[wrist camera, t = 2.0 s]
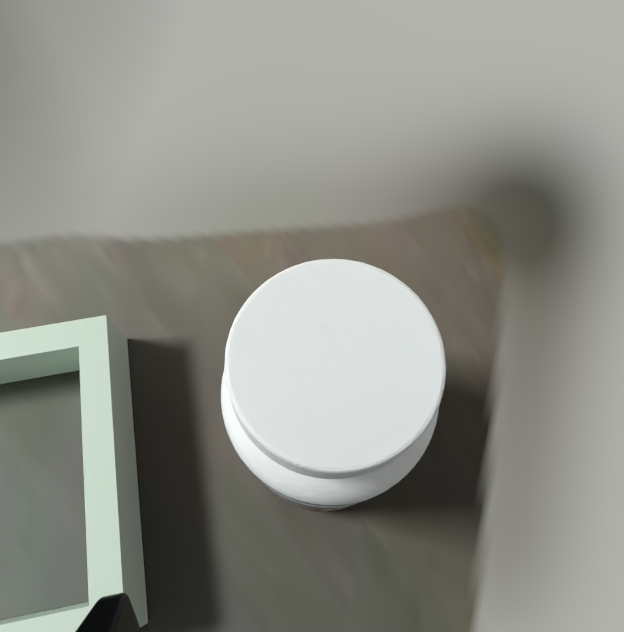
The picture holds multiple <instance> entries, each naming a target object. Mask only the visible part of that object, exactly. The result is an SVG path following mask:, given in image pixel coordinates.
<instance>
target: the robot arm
mask: <svg viewBox="0 0 624 632" xmlns="http://www.w3.org/2000/svg"><path fill="white" fill-rule="evenodd" d="M75 632H140V626H139V623H138V620H137V617H136V615H135V612H134V609H133V607H132V604H131V601H130V598H129V596H128V595H127V594H126V593H118V594H113V595H108V596H104V597H101V598H100V599H99V600H98V601H97V602H96V603H95V605H94V606H93V608H92V609H91V610H90V612H89V613H88V615H87V616H86V617H85V619H84V620H83V622H82V623H81V624H80V626H79V627H78V629H77V630H76V631H75Z"/></svg>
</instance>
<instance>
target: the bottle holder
mask: <svg viewBox="0 0 624 632" xmlns="http://www.w3.org/2000/svg"><path fill="white" fill-rule="evenodd" d="M78 370H80V390H81V415H82V440H83V465H84V490H85V515H86V540H87V565H88V590H89V602H86V603H82V604H77V605H72V606H67V607H63V608H58V609H53V610H48V611H44V612H39V613H34V614H29V615H25V616H20V617H15V618H10V619H6V620H1V621H0V632H75V631H76V630H77V629H78V627H79V626H80V624H81V623H82V622H83V620H84V619H85V617H86V616H87V615H88V613H89V612H90V610H91V609H92V608H93V606H94V605H95V603H96V602H97V601H98V600H99V599H100V598H101V597H104V596H108V595H113V594H118V593H126V594H127V595H128V596H129V598H130V601H131V604H132V607H133V609H134V612H135V615H136V617H137V620H138V623H139V626H140V628H141V627H142V626H144V625H145V624H147V623H148V614H147V600H146V587H145V573H144V560H143V546H142V533H141V519H140V506H139V492H138V478H137V465H136V451H135V438H134V424H133V411H132V397H131V384H130V370H129V357H128V343H127V337H126V336H125V335H124V334H123V333H122V332H121V331H120V330H119V329H118V327H117V326H116V325H115V324H114V323H113V322H112V321H111V320H110V319H109V318H108V317H107V315H104V316H98V317H92V318H86V319H80V320H74V321H68V322H62V323H56V324H50V325H44V326H38V327H32V328H26V329H20V330H14V331H8V332H2V333H0V384H4V383H10V382H15V381H21V380H27V379H33V378H38V377H44V376H50V375H55V374H61V373H67V372H73V371H78Z"/></svg>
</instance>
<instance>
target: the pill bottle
mask: <svg viewBox="0 0 624 632" xmlns="http://www.w3.org/2000/svg"><path fill="white" fill-rule="evenodd" d="M445 379H446V359H445V351H444V346H443V342H442V338H441V335H440V332H439V330H438V327H437V325H436V323H435V320H434V319H433V317H432V315H431V314H430V312H429V310H428V309H427V307H426V306H425V305H424V303H423V302H422V301H421V300H420V298H419V297H418V296H417V295H416V294H415V293H414V292H413V291H412V290H411V289H410V288H409V287H408V286H406V285H405V284H404V283H403V282H401V281H400V280H398V279H397V278H396V277H394V276H392V275H391V274H389V273H387V272H385V271H383V270H381V269H380V268H376V267H374V266H371V265H368V264H365V263H362V262H357V261H351V260H344V259H325V260H315V261H309V262H305V263H302V264H299V265H295V266H293V267H291V268H288V269H286V270H284V271H282V272H280V273H278V274H276V275H275V276H273V277H272V278H270V279H269V280H267V281H266V282H265V283H263V284H262V285H261V286H260V287H259V288H258V289H257V290H256V291H255V292H254V293H253V294H252V295H251V296H250V297H249V298H248V299H247V301H246V302H245V303H244V305H243V306H242V308H241V309H240V311H239V313H238V314H237V316H236V318H235V320H234V322H233V325H232V327H231V330H230V333H229V337H228V340H227V344H226V350H225V369H224V373H223V377H222V385H221V405H222V413H223V418H224V422H225V426H226V429H227V432H228V435H229V437H230V440H231V442H232V444H233V446H234V448H235V450H236V452H237V453H238V455H239V456H240V458H241V460H242V461H243V462H244V464H245V465H246V467H247V468H248V469H249V470H250V471H251V472H252V473H253V474H254V475H255V476H256V477H257V478H258V479H259V480H260V481H261V482H262V483H263V484H264V485H265V486H266V487H267V488H268V489H269V490H270V491H271V492H272V493H273V494H275V495H276V496H277V497H279V498H281V499H282V500H284V501H286V502H287V503H290V504H292V505H294V506H296V507H300V508H303V509H307V510H311V511H334V510H339V509H343V508H346V507H349V506H352V505H355V504H357V503H360V502H363V501H366V500H368V499H371V498H373V497H375V496H377V495H380V494H382V493H383V492H385V491H387V490H389V489H390V488H391V487H393V486H394V485H396V484H397V483H398V482H399V481H401V480H402V479H403V478H404V477H405V476H406V475H407V474H408V473H409V472H410V471H411V470H412V469H413V467H414V466H415V465H416V464H417V462H418V461H419V460H420V458H421V457H422V455H423V454H424V452H425V450H426V448H427V446H428V444H429V442H430V440H431V438H432V435H433V432H434V429H435V426H436V423H437V417H438V411H439V405H440V402H441V399H442V395H443V391H444V386H445Z"/></svg>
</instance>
